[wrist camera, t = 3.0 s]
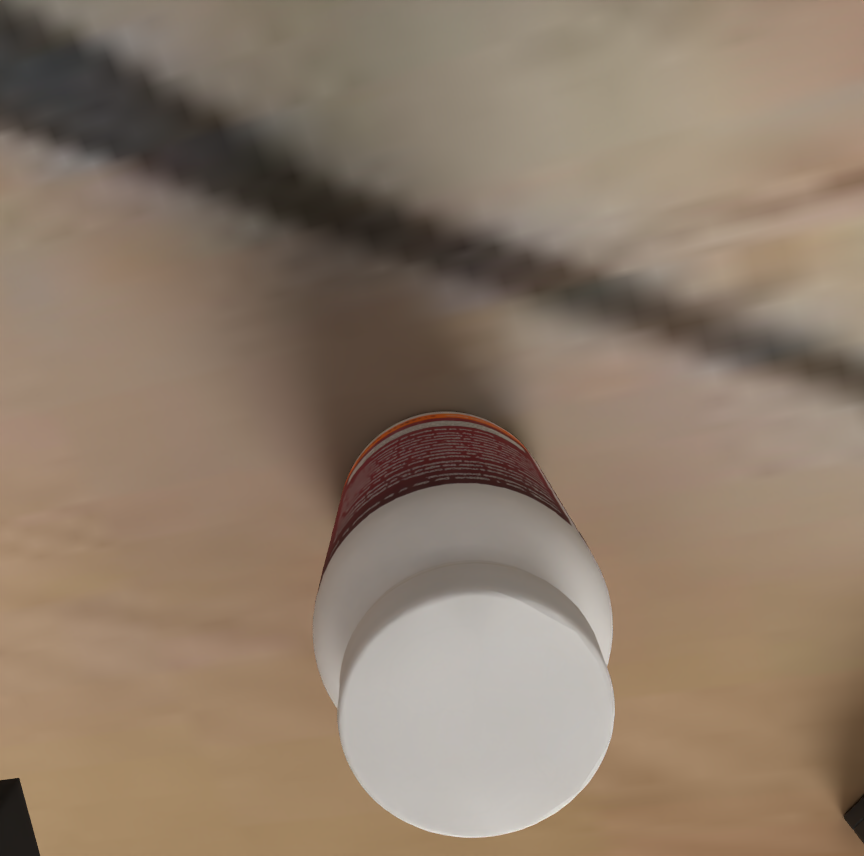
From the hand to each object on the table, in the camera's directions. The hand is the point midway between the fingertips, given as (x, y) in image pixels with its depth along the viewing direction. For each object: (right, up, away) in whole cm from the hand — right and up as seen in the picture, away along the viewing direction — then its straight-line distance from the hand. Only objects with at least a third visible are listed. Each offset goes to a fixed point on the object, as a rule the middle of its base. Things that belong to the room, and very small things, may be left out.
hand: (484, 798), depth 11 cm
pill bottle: (0, +3, +13) cm, 13 cm away
